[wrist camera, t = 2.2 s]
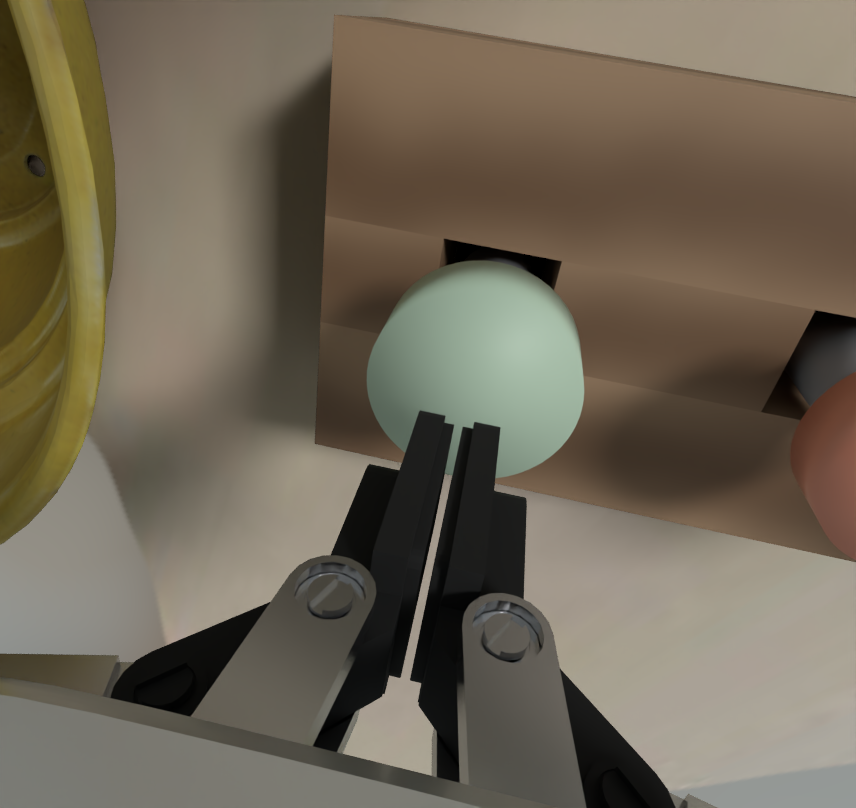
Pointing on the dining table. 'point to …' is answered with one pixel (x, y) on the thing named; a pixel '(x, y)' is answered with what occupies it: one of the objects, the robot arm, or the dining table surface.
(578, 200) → the button panel
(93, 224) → the planter bowl
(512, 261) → the green button
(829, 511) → the red button
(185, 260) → the dining table surface
